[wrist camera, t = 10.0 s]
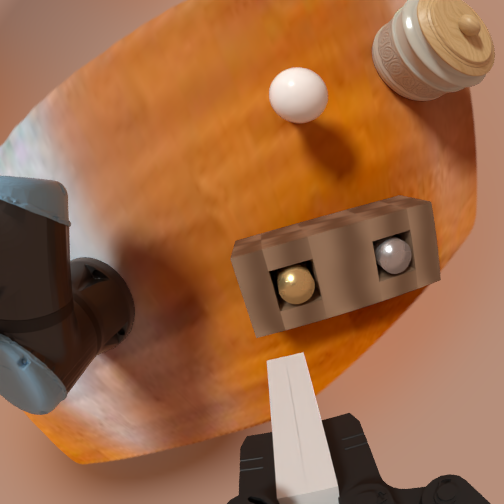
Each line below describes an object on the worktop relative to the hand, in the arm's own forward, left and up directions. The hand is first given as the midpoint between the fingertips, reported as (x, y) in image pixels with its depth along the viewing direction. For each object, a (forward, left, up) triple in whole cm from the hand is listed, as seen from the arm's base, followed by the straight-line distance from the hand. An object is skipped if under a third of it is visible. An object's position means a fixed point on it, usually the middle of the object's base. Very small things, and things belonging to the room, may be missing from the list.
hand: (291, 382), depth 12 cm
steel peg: (+14, -5, -30) cm, 33 cm away
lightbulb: (+8, +15, -31) cm, 36 cm away
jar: (+28, +19, -31) cm, 46 cm away
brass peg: (+2, -5, -30) cm, 30 cm away
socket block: (+8, -5, -31) cm, 32 cm away
